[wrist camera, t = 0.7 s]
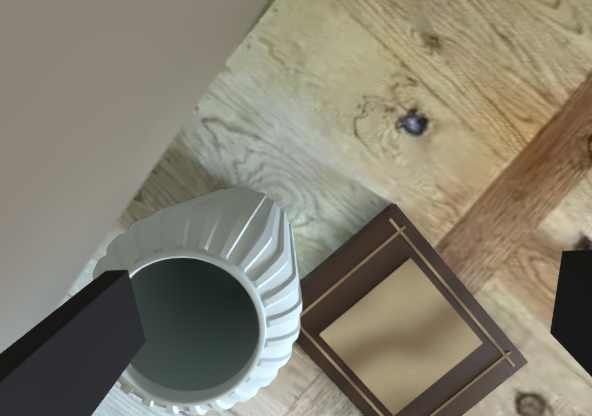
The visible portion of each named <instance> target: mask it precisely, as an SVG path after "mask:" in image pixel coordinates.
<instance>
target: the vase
mask: <svg viewBox="0 0 592 416" xmlns="http://www.w3.org/2000/svg"><path fill="white" fill-rule="evenodd" d="M108 270H128V272H129V276H130V280H131V284H132V288H133V292H134V296H135V300H136V304H137V308H138V312H139V316H140V320H141V323H142V327H143V331H144V335H145V339H146V342H145V343H144V345H143V346H142V347H141V349H140V350H139V351H138V353H137V354H136V355H135V357H134V358H133V360H132V361H131V362H130V364H129V365H128V366H127V368H126V369H125V370H124V372H123V373H122V374H121V376H120V377H119V379H118V380H117V381H118V382H119V383H120V384H121V390H122V391H124V392H125V393H126V394H129V393H133V394H135V395H136V396H138V397H139V398H141V399H142V404H144V405H147V406H149V407H151V406H152V405H157V406H160V407H163V408H166V411H167V412H168V413H173V414H176V413H178V412H179V411H190V413H191V414H192V415H201V414H204V413H205V412H206V411H207V410H211V409H214V410H216V411H223V410H226V409H229V408H231V407H232V406H233V404H234V403H235V402H238V401H240V402H244V401H247V400H249V399H250V398H252V397H254V396H255V395H256V394H257V391H258V389H259V388H260V387H264V386H267V385H268V384H269V383H270V382H271V381H272V380H273V379H274V378H275V377H276V376H277V373H278V369H279V367H281V366H284V365H285V364H286V363H287V361H288V359H289V358H290V356H291V354H292V344H293V342H294V341H295V340H296V339H297V338H298V335H299V330H300V326H301V324H300V313H301V312H302V295H301V287H300V280H299V272H298V264H297V257H296V249H295V242H294V237H293V229H292V226H291V224H289V222H288V220H287V215H286V213H285V212H284V211H282V210H281V209H280V208H279V207H278V203H276V202H275V201H272V200H270V199H269V198H267V197H266V194H264V193H262V192H261V193H258V192H255V191H253V189H250V188H246V189H239V188H238V187H231V188H229V189H226V190H224V189H220V190H217V191H214V192H211V193H208V194H205V195H202V196H199V197H196V198H193V199H190V200H188V201H185V202H182V203H179V204H176V205H173V206H170V207H167V208H164V209H161V210H158V211H157V212H155V213H154V214H152V215H149V216H146V217H143V218H141V219H139V220H137V221H136V222H134V223H133V224H131V225H130V226H129V228H128V231H127V232H126V233H123V234H121V235H119V236H117V237H116V238H115V239H114V240H113V241H112V242H111V243H110V244H109V246H108V248H107V254H106V256H104V257H102V258H101V259H100V260H99V261H98V262H97V264H96V267H95V269H94V271H93V278H94V279H96V278H97V277H98V276H99V275H101V274H102V273H103V272H105V271H108Z"/></svg>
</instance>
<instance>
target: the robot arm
mask: <svg viewBox="0 0 592 416" xmlns="http://www.w3.org/2000/svg"><path fill="white" fill-rule="evenodd" d="M550 333H551V334H552V335H553V336H554V338H555V339H556V340H557V341H558V342H559V343H560V344H561V345H562V346H563V347H564V348H565V349H566V350H567V351H568V352H569V353H570V354H571V356H572V357H573V358H574V359H575V360H576V361H577V362H578V363H579V364H580V365H581V366H582V367H583V368H584V369H585V370H586V371H587V372H588V373H589V375H590V376H591V377H592V250H577V251H562V258H561V265H560V271H559V278H558V285H557V291H556V298H555V305H554V311H553V318H552V325H551V331H550ZM145 342H146V339H145V335H144V331H143V327H142V323H141V320H140V316H139V312H138V308H137V304H136V300H135V296H134V292H133V288H132V284H131V280H130V276H129V272H128V270H108V271H105V272H103V273H102V274H101V275H99V276H98V277H97V278H96V279H94V280H93V281H92V282H91V283H89V284H88V285H87V286H86V287H84V288H83V289H82V290H80V291H79V292H78V293H77V294H75V295H74V296H73V297H72V298H70V299H69V300H68V301H67V302H65V303H64V304H63V305H62V306H60V307H59V308H58V309H56V310H55V311H54V312H53V313H51V314H50V315H49V316H48V317H46V318H45V319H44V320H43V321H41V322H40V323H39V324H37V325H36V326H35V327H34V328H33V329H31V330H30V331H29V332H27V333H26V334H25V335H24V336H22V337H21V338H20V339H18V340H17V341H16V342H15V343H13V344H12V345H11V346H10V347H8V348H7V349H6V350H5V351H3V352H2V353H1V354H0V416H91V415H92V414H93V412H94V411H95V410H96V408H97V407H98V406H99V404H100V403H101V402H102V400H103V399H104V398H105V396H106V395H107V393H108V392H109V391H110V389H111V388H112V387H113V385H114V384H115V383H116V381H117V380H118V379H119V377H120V376H121V374H122V373H123V372H124V370H125V369H126V368H127V366H128V365H129V364H130V362H131V361H132V360H133V358H134V357H135V355H136V354H137V353H138V351H139V350H140V349H141V347H142V346H143V345H144V343H145Z"/></svg>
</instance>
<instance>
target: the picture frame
mask: <svg viewBox="0 0 592 416" xmlns="http://www.w3.org/2000/svg"><path fill="white" fill-rule="evenodd" d="M300 287H301V295H302V312H301V313H300V324H301V326H300V330H299V335H298V338H297V339H296V340H295V341H296V342H297V344H298V345H299V346H300V347H301V348H302V349H303V350H304V351H305V352H306V353H307V354H308V355H309V356H310V357H311V359H312V360H313V361H314V362H315V363H316V364H317V365H318V366H319V367H320V368H321V369H322V370H323V371H324V373H325V374H326V375H327V376H328V377H329V378H330V379H331V380H332V381H333V382H334V383H335V384H336V385H337V386H338V388H339V389H340V390H341V391H342V392H343V393H344V394H345V395H346V396H347V397H348V398H349V399H350V400H351V402H352V403H353V404H354V405H355V406H356V407H357V408H358V409H359V410H360V411H361V412H362V413H363V414H364V415H365V416H462V415H463V414H464V413H466V412H467V411H468V410H469V409H471V408H472V407H473V406H474V405H476V404H477V403H478V402H479V401H481V400H482V399H483V398H484V397H486V396H487V395H488V394H489V393H491V392H492V391H493V390H494V389H496V388H497V387H498V386H499V385H501V384H502V383H503V382H504V381H506V380H507V379H508V378H509V377H510V376H512V375H513V374H514V373H515V372H517V371H518V370H519V369H520V368H522V367H523V366H524V365H525V364H527V363H528V361H527V360H526V359H525V358H524V357H523V355H522V354H521V353H520V352H519V351H518V349H517V348H516V347H515V346H514V345H513V343H512V342H511V341H510V340H509V339H508V338H507V336H506V335H505V334H504V333H503V332H502V330H501V329H500V328H499V327H498V326H497V324H496V323H495V322H494V321H493V320H492V318H491V317H490V316H489V315H488V314H487V312H486V311H485V310H484V309H483V308H482V306H481V305H480V304H479V303H478V302H477V300H476V299H475V298H474V297H473V296H472V295H471V293H470V292H469V291H468V290H467V289H466V287H465V286H464V285H463V284H462V283H461V281H460V280H459V279H458V278H457V277H456V275H455V274H454V273H453V272H452V271H451V269H450V268H449V267H448V266H447V265H446V263H445V262H444V261H443V260H442V259H441V257H440V256H439V255H438V254H437V253H436V252H435V250H434V249H433V248H432V247H431V246H430V244H429V243H428V242H427V241H426V240H425V238H424V237H423V236H422V235H421V234H420V232H419V231H418V230H417V229H416V228H415V226H414V225H413V224H412V223H411V222H410V220H409V219H408V218H407V217H406V216H405V214H404V213H403V212H402V211H401V210H400V209H399V207H398V206H397V205H396V204H393V203H391V204H390V205H389V206H388V207H386V208H385V209H384V210H383V211H382V212H381V213H379V214H378V215H377V216H376V217H375V218H374V219H372V220H371V221H370V222H369V223H368V224H367V225H365V226H364V227H363V228H362V229H361V230H360V231H358V232H357V233H356V234H355V235H354V236H352V237H351V238H350V239H349V240H348V241H347V242H345V243H344V244H343V245H342V246H341V247H340V248H338V249H337V250H336V251H335V252H334V253H333V254H331V255H330V256H329V257H328V258H327V259H326V260H324V261H323V262H322V263H321V264H320V265H319V266H317V267H316V268H315V269H314V270H313V271H312V272H310V273H309V274H308V275H307V276H306V277H305V278H303V279H302V280H301V281H300Z"/></svg>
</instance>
